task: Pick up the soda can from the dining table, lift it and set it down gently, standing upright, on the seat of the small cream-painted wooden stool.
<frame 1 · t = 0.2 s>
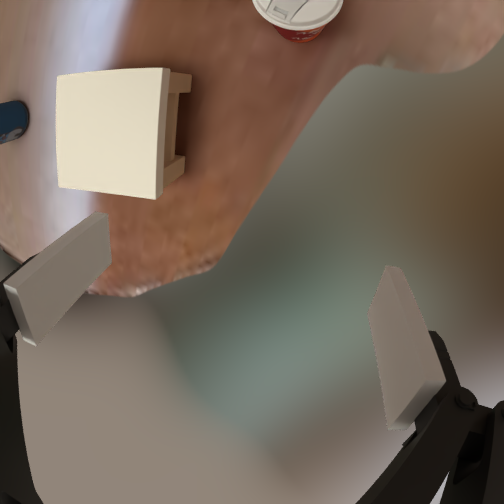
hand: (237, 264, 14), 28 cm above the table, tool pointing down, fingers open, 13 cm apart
paper cup: (299, 22, 31), on the table
soda can: (19, 118, 41), on the table
stool: (141, 121, 39), on the table
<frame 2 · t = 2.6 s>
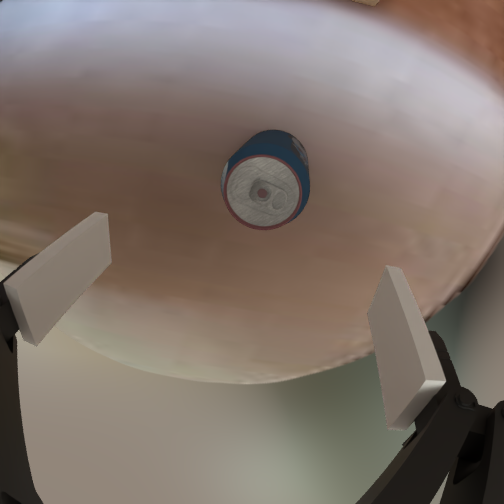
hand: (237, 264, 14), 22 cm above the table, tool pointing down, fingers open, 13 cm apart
soda can: (275, 159, 34), on the table
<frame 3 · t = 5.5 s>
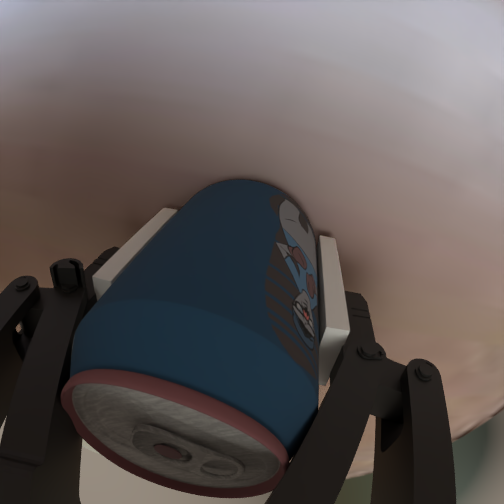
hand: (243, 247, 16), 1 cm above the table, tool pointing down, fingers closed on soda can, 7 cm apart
soda can: (248, 236, 17), on the table, touching gripper
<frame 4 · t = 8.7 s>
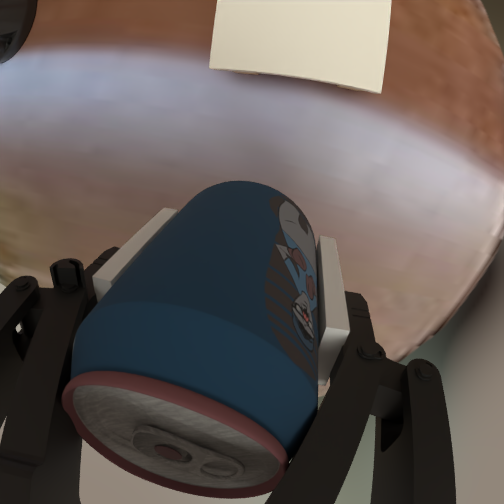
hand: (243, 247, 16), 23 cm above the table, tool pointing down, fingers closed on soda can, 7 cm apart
soda can: (248, 237, 17), point 21 cm above the table, touching gripper
stool: (304, 25, 28), on the table
when the fingers open (12 cm above the table, at t = 12.4 s): soda can drops 1 cm, resting on stool.
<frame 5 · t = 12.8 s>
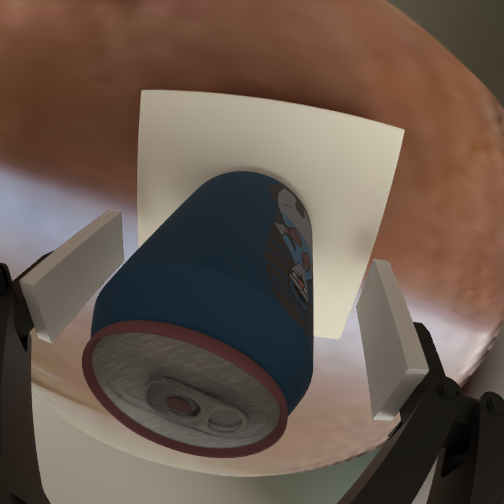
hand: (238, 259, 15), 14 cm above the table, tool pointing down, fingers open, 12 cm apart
soda can: (249, 224, 18), point 10 cm above the table, touching stool
stool: (269, 180, 27), on the table
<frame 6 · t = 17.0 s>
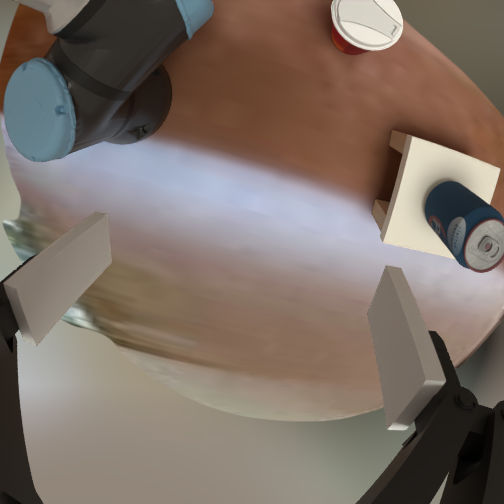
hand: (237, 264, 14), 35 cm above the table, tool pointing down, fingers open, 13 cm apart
paper cup: (350, 37, 36), on the table
soda can: (444, 203, 35), point 10 cm above the table, touching stool
stool: (421, 182, 44), on the table
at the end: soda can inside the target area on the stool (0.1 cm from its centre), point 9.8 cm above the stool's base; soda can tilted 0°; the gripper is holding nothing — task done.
